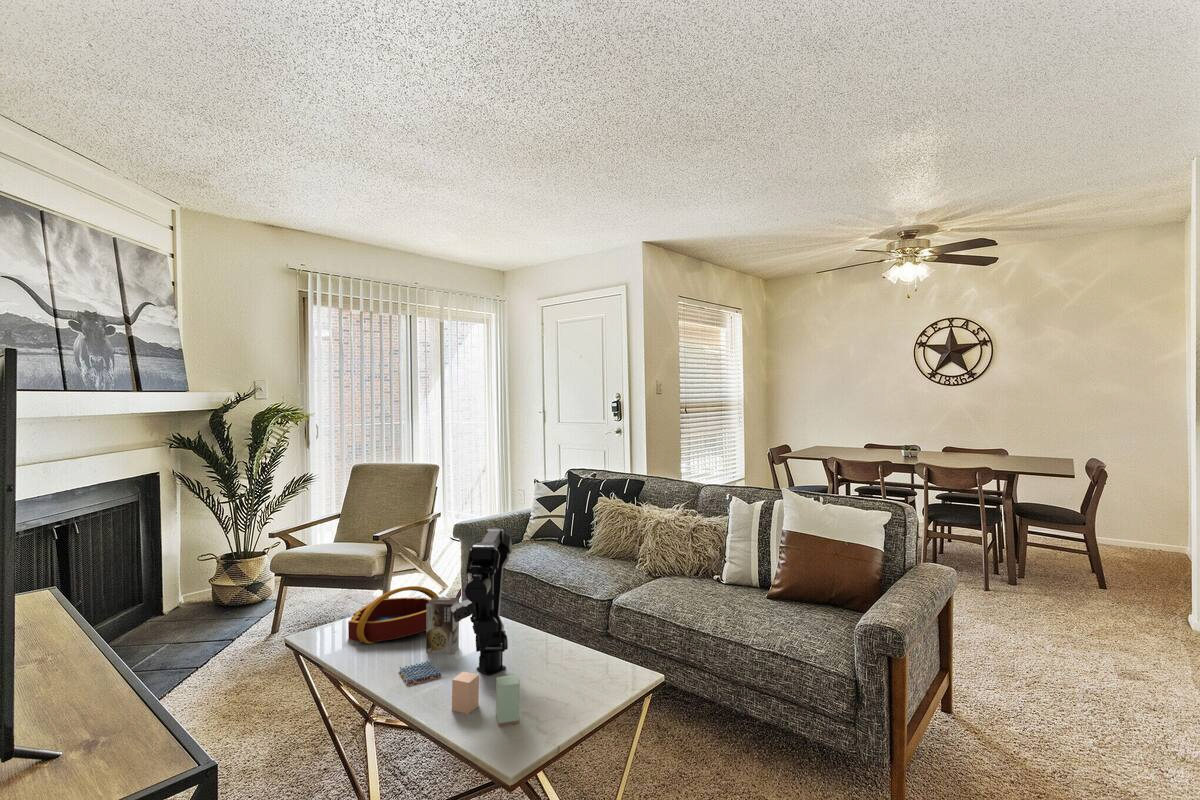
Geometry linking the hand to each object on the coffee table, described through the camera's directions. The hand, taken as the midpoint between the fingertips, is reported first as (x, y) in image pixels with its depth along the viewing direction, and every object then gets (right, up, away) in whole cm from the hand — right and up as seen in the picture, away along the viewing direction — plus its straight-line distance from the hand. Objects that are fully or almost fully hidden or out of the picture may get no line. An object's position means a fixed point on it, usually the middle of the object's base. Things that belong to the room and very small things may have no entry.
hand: (482, 647), depth 159 cm
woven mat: (-21, -14, +11) cm, 27 cm away
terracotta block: (-3, -13, -7) cm, 15 cm away
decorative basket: (-38, -14, +46) cm, 61 cm away
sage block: (+9, -13, -13) cm, 20 cm away
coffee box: (-19, -14, +29) cm, 37 cm away
